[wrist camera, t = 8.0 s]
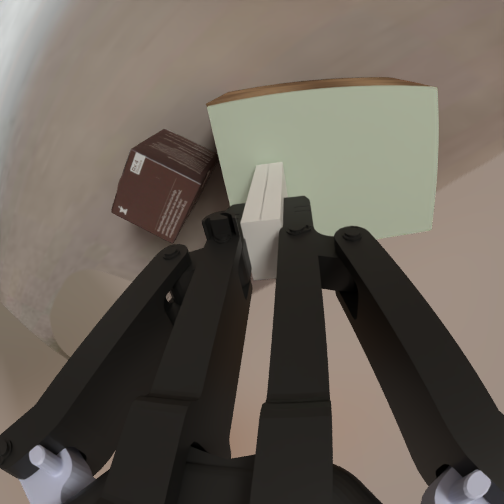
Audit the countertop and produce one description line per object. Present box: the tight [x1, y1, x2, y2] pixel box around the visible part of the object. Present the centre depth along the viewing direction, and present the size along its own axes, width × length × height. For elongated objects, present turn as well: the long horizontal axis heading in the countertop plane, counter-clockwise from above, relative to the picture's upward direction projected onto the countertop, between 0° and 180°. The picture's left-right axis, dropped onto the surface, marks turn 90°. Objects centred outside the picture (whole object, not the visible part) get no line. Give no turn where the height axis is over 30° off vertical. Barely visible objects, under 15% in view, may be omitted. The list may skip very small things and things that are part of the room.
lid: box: [207, 85, 439, 239], centre depth 17 cm, size 14×10×1 cm
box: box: [112, 129, 219, 243], centre depth 25 cm, size 6×6×7 cm
